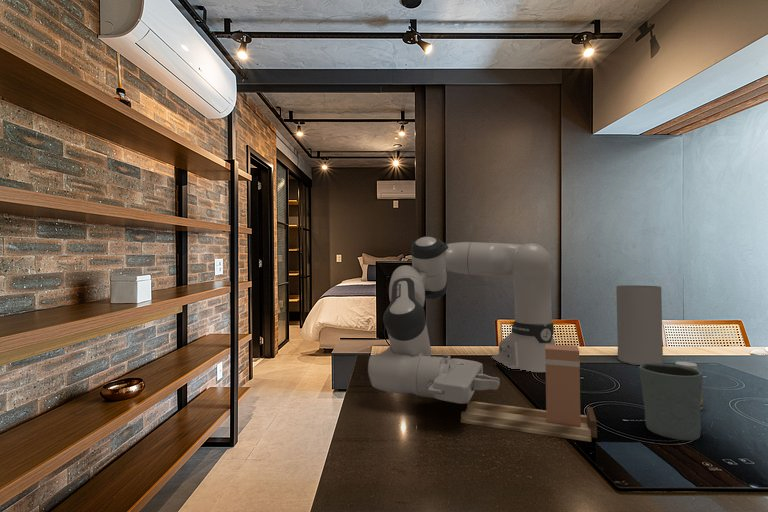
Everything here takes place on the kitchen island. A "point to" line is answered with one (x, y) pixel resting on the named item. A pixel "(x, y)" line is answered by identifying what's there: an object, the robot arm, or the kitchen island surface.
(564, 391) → the block
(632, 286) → the cylinder vase
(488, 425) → the chute
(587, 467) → the kitchen island surface
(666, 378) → the green cup
